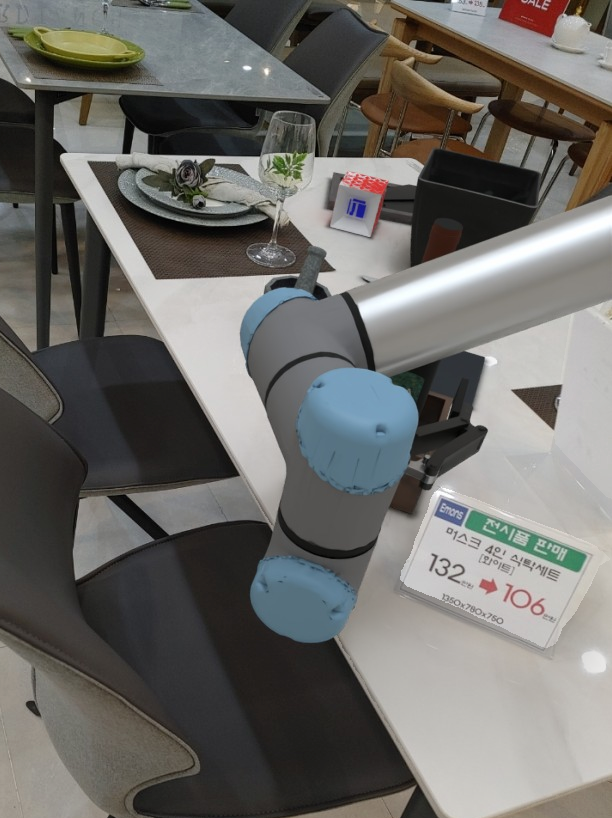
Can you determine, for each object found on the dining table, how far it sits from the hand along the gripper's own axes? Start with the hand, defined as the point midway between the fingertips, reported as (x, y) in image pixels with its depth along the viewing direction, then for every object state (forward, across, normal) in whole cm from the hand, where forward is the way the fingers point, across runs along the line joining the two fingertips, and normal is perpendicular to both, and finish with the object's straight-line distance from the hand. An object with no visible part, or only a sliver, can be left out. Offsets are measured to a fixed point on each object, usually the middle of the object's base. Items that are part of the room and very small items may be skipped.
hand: (398, 369), depth 80 cm
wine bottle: (+4, 0, -16) cm, 17 cm away
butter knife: (+52, -1, -16) cm, 54 cm away
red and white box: (+73, -20, -16) cm, 77 cm away
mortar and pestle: (+28, -18, -16) cm, 37 cm away
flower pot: (+65, 0, -16) cm, 67 cm away
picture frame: (+87, -18, -16) cm, 90 cm away
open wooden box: (+4, 0, -16) cm, 16 cm away
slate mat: (+30, 0, -16) cm, 34 cm away
